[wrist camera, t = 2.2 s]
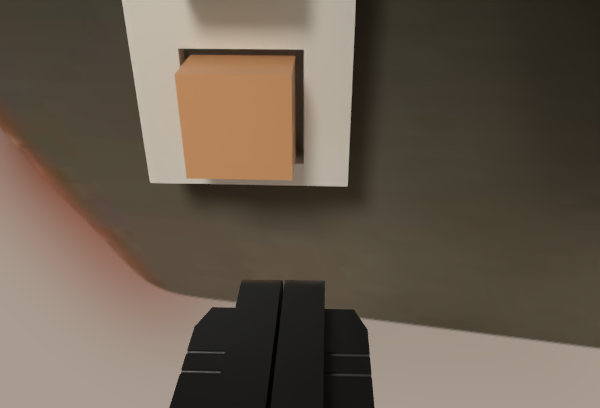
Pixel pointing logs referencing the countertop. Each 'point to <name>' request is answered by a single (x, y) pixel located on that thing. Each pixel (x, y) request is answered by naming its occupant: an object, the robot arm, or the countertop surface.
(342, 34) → the white button panel
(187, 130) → the terracotta button
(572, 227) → the countertop surface
